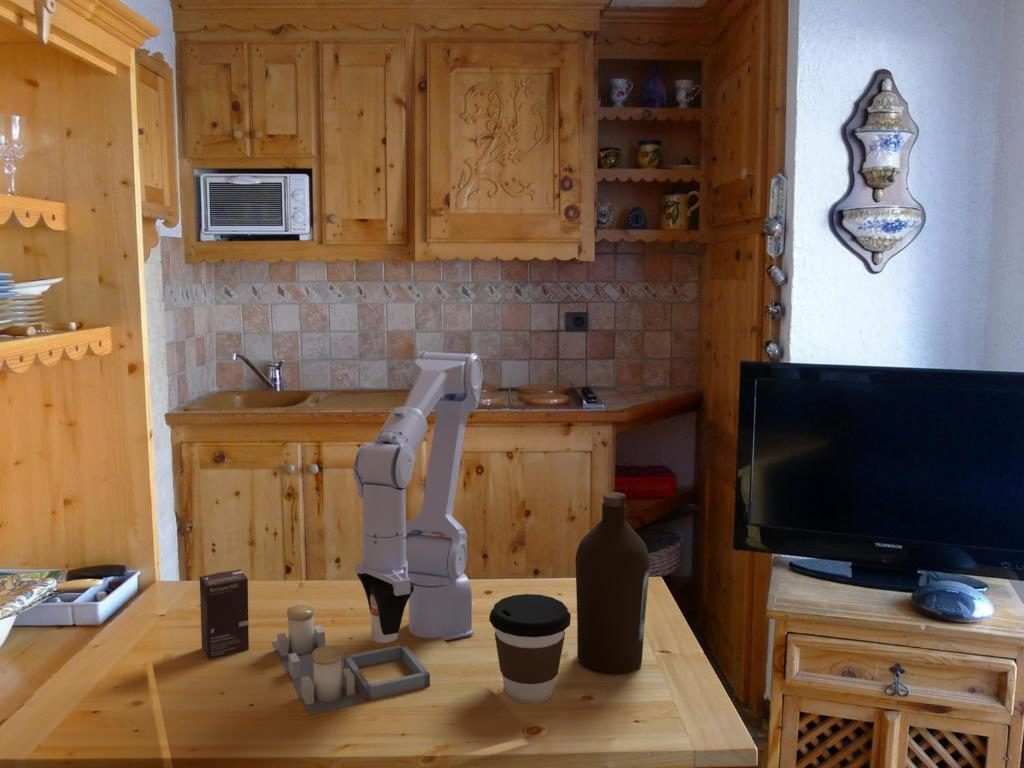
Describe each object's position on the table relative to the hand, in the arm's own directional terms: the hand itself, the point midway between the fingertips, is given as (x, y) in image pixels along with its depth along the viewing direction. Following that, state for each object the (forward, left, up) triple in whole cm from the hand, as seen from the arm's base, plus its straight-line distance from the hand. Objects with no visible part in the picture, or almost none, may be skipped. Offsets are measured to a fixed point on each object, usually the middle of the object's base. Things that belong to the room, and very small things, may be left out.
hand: (385, 627), depth 118 cm
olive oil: (-32, +8, -8) cm, 34 cm away
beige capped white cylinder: (+8, -14, -7) cm, 18 cm away
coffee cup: (-17, +11, -8) cm, 21 cm away
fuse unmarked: (+8, +1, -7) cm, 11 cm away
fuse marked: (0, 0, -1) cm, 1 cm away
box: (+18, -18, -8) cm, 27 cm away
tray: (0, 0, -8) cm, 8 cm away
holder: (+8, -6, -8) cm, 13 cm away
